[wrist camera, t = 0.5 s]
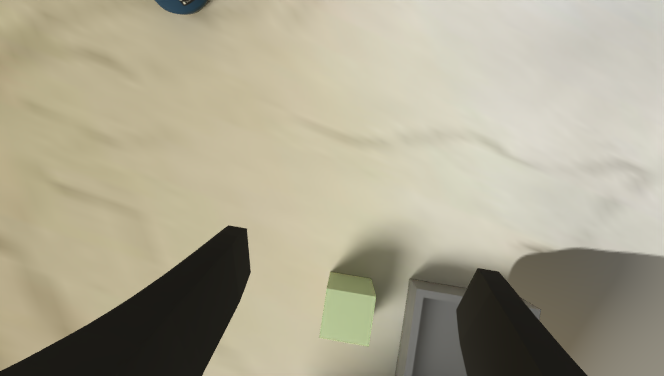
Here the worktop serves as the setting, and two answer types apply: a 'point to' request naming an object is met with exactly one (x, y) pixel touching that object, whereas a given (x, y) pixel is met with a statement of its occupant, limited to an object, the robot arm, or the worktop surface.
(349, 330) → the light green block
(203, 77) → the worktop surface
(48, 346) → the robot arm
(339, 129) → the worktop surface
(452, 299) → the bin
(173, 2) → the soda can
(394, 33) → the worktop surface
